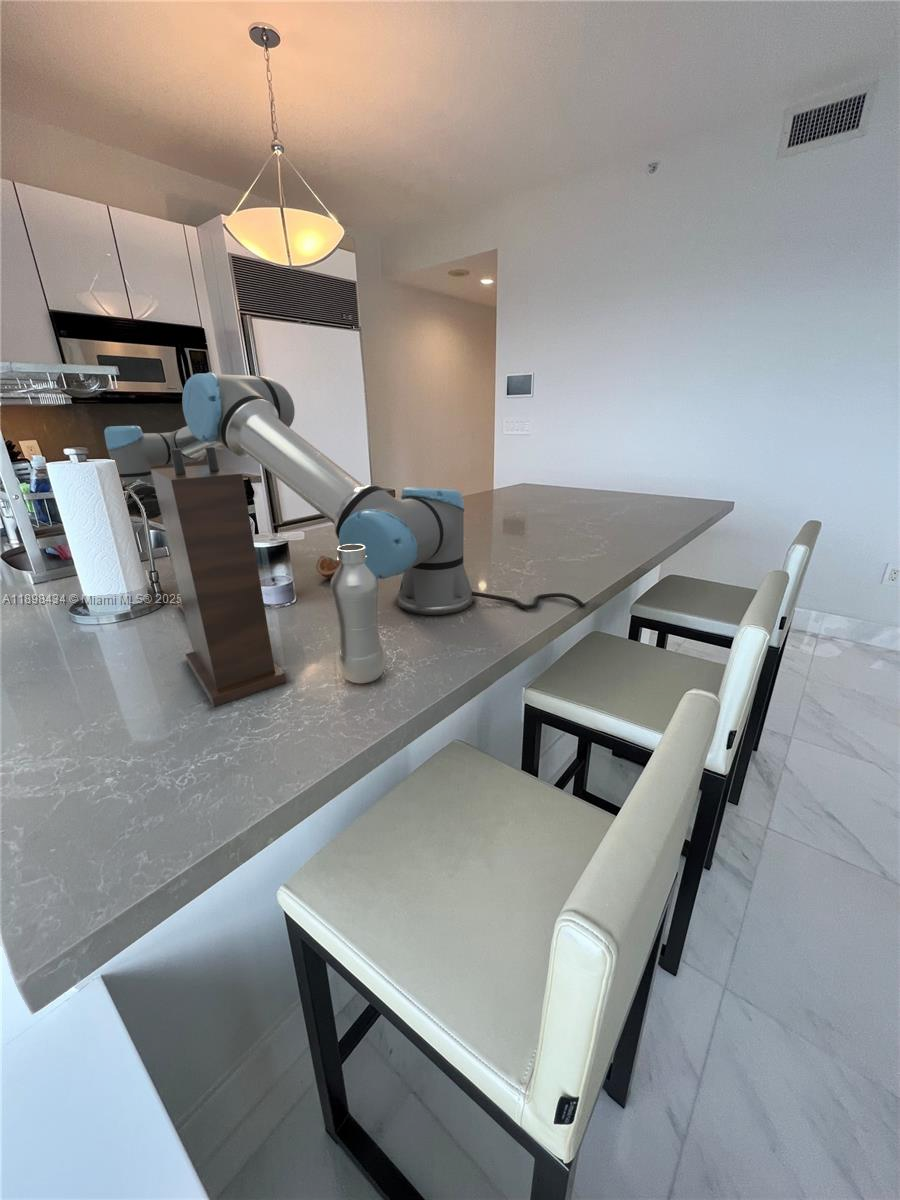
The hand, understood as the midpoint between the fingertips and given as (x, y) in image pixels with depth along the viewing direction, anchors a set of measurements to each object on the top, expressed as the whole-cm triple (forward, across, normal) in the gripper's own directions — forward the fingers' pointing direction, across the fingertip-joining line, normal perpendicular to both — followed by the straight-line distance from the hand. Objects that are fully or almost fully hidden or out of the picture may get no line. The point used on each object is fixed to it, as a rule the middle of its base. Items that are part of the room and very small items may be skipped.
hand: (162, 514), depth 95 cm
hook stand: (+37, 0, +19) cm, 41 cm away
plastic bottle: (+51, +14, +19) cm, 56 cm away
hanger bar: (+13, 0, +19) cm, 23 cm away
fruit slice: (+7, +31, +19) cm, 37 cm away
